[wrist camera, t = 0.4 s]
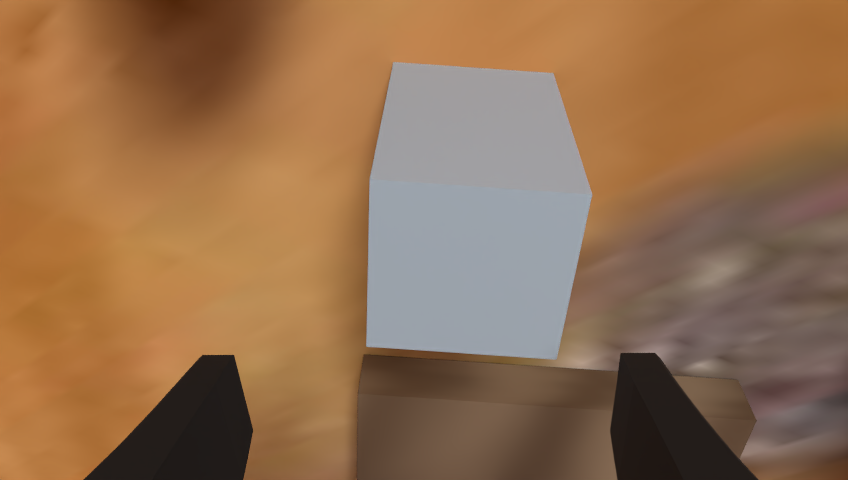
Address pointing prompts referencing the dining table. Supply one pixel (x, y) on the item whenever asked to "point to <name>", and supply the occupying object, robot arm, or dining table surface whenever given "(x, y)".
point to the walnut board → (507, 420)
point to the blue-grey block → (473, 213)
